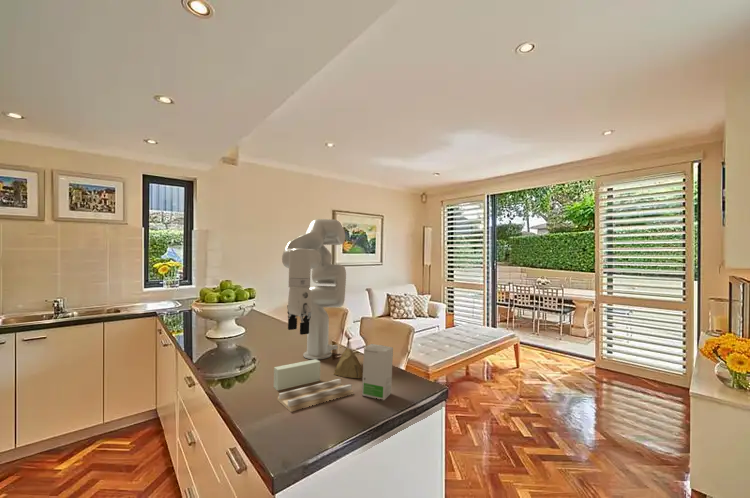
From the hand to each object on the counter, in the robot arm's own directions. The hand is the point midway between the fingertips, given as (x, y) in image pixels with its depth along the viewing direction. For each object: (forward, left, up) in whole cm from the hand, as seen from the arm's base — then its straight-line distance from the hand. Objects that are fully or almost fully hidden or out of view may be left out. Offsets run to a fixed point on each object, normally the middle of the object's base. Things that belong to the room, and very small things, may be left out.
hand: (298, 331), depth 120 cm
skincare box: (-17, +24, -19) cm, 35 cm away
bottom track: (0, +14, -18) cm, 23 cm away
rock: (-19, +4, -19) cm, 27 cm away
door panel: (0, 0, -19) cm, 19 cm away
